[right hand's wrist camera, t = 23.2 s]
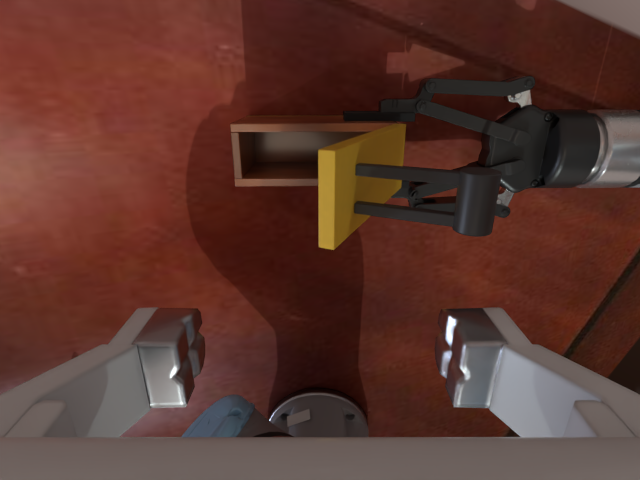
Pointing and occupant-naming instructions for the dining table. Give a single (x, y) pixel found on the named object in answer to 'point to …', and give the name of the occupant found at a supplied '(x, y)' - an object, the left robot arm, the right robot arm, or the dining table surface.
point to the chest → (288, 146)
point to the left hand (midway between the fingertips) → (343, 149)
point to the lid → (394, 188)
